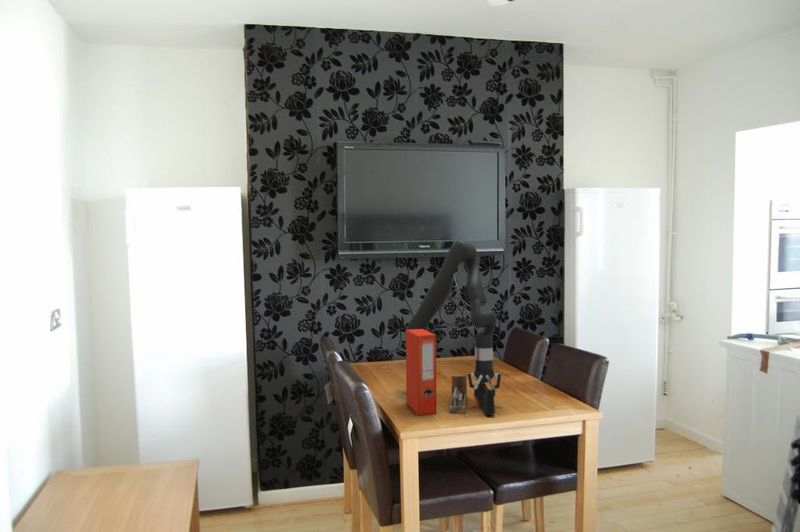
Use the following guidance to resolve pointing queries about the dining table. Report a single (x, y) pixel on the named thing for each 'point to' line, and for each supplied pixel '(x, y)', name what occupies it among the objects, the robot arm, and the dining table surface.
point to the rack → (461, 385)
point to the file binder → (421, 371)
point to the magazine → (486, 398)
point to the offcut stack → (457, 398)
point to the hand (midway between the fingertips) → (484, 397)
